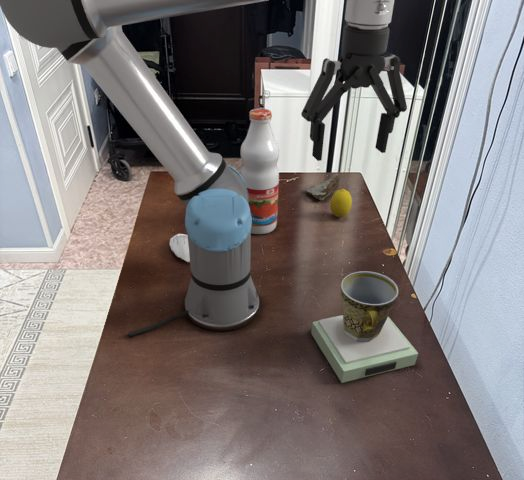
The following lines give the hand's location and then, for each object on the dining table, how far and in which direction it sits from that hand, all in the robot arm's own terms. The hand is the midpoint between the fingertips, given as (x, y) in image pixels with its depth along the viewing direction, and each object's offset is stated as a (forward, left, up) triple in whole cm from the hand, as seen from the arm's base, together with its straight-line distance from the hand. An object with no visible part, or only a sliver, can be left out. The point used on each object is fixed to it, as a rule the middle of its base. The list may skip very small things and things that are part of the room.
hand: (349, 154), depth 95 cm
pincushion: (-31, +18, -27) cm, 45 cm away
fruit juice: (-10, +24, -27) cm, 37 cm away
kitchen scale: (-6, -26, -27) cm, 38 cm away
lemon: (+12, +22, -27) cm, 37 cm away
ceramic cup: (-7, -26, -23) cm, 36 cm away
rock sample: (+12, +35, -27) cm, 46 cm away
